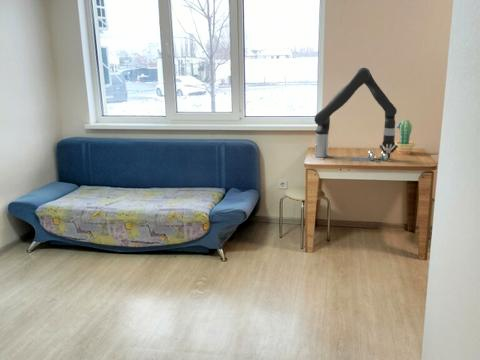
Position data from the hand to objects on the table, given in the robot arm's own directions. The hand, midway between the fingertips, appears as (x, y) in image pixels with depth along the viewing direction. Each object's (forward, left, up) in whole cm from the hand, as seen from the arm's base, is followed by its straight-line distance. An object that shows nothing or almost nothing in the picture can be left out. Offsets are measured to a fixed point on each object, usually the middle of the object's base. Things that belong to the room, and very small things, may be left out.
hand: (387, 158), depth 317 cm
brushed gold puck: (-7, 0, -1) cm, 7 cm away
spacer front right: (-2, -4, -1) cm, 5 cm away
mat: (-14, 0, -1) cm, 14 cm away
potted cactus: (+16, +24, -2) cm, 29 cm away
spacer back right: (-2, +4, -1) cm, 5 cm away
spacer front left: (-11, -4, -1) cm, 12 cm away
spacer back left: (-11, +4, -1) cm, 12 cm away
